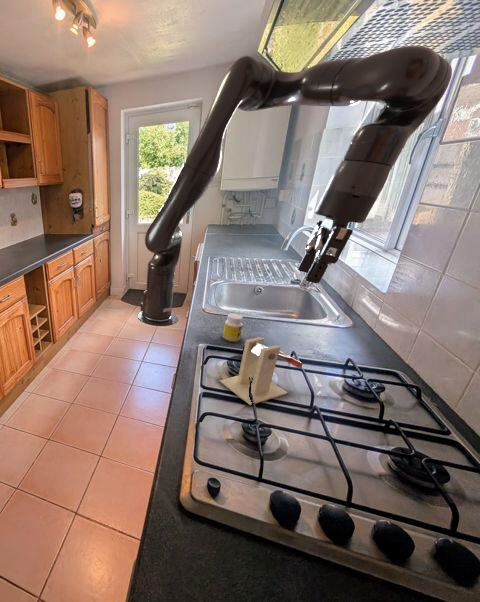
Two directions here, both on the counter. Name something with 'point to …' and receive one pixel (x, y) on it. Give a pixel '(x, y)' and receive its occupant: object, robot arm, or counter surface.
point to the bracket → (256, 374)
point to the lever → (281, 355)
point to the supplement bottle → (233, 328)
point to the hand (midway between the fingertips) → (306, 276)
